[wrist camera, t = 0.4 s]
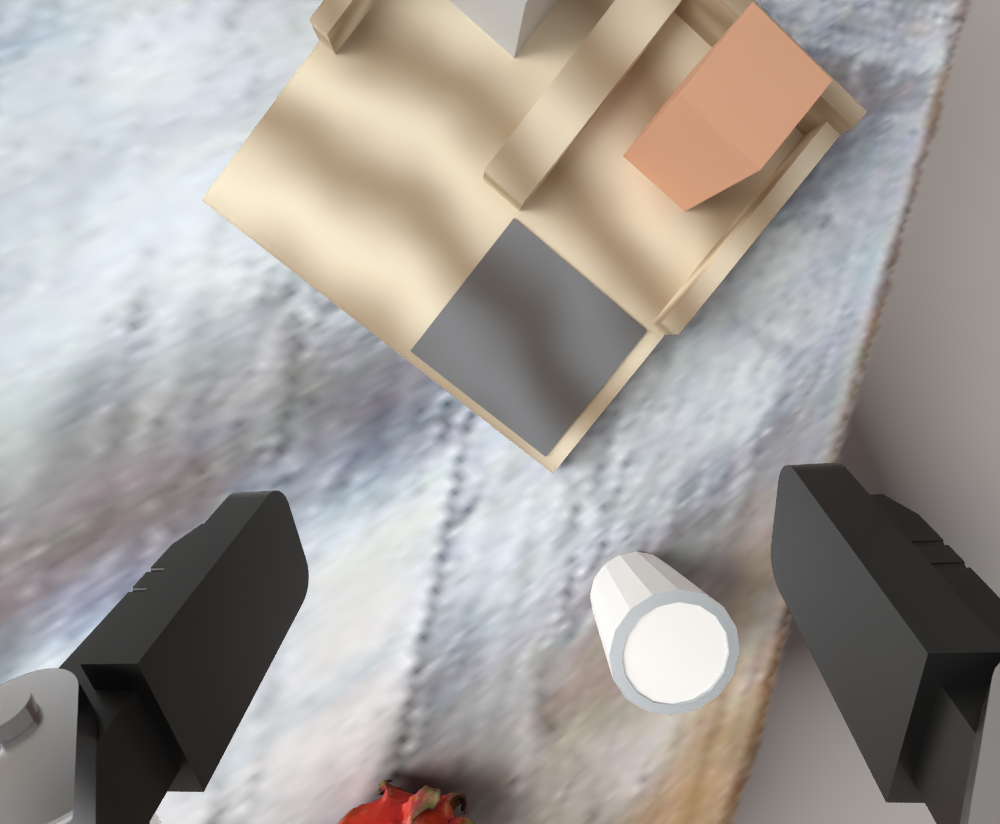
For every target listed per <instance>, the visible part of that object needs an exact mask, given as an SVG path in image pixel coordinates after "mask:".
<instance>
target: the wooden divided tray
mask: <svg viewBox="0 0 1000 824" xmlns="http://www.w3.org/2000/svg"><path fill="white" fill-rule="evenodd" d="M752 2H753V3H754V4H756V5H757V6H758V7H759V8H760V9H761V10H762V11H763V12H764V13H765V14H766V15H767V16H768V17H769V18H770V19H771V20H772V21H773V22H774V23H775V24H776V25H777V26H778V27H779V28H780V29H781V30H782V31H783V32H784V33H785V34H786V35H787V36H788V37H789V38H790V39H791V40H792V41H793V42H794V43H795V44H796V45H797V46H798V47H799V48H800V49H801V50H802V51H803V52H804V53H805V54H806V55H807V56H808V57H809V58H810V59H811V60H812V61H813V62H814V63H815V64H816V65H818V66H819V67H820V68H821V69H822V70H823V71H824V72H825V73H826V74H827V75H828V76H829V77H830V78H831V79H832V82H831V83H830V84H829V85H828V87H827V88H826V89H825V90H824V92H823V93H822V94H821V95H820V97H819V98H818V99H817V100H816V102H815V103H814V104H813V105H812V107H811V108H810V109H809V110H808V112H807V113H806V114H805V115H804V116H803V118H802V119H801V120H800V121H799V123H798V124H797V125H796V126H795V128H794V129H793V130H792V131H791V133H790V134H789V135H788V136H787V138H786V139H785V140H784V141H783V143H782V144H781V145H780V146H779V148H778V149H777V150H776V151H775V153H774V154H773V155H772V156H771V158H770V159H769V160H768V161H767V163H766V164H765V165H764V166H763V167H762V169H761V170H759V171H757V172H756V173H754V174H752V175H750V176H748V177H746V178H745V179H743V180H741V181H739V182H737V183H736V184H734V185H732V186H730V187H728V188H726V189H725V190H723V191H721V192H719V193H717V194H716V195H714V196H712V197H710V198H708V199H706V200H705V201H703V202H701V203H699V204H697V205H696V206H694V207H692V208H690V209H688V210H686V211H684V210H683V209H682V208H680V207H679V206H678V205H677V204H676V203H675V202H674V201H673V200H672V199H670V198H669V197H668V196H667V195H666V194H665V193H664V192H663V191H661V190H660V189H659V188H658V187H657V186H656V185H655V184H654V183H653V182H651V181H650V180H649V179H648V178H647V177H646V176H645V175H644V174H642V173H641V172H640V171H639V170H638V169H637V168H636V167H635V166H634V165H632V164H631V163H630V162H629V161H628V160H627V159H626V158H625V157H623V155H624V154H625V153H626V151H627V150H628V149H629V148H630V146H631V145H632V144H633V143H634V141H635V140H636V139H637V137H638V136H639V135H640V134H641V132H642V131H643V130H644V129H645V127H646V126H647V125H648V123H649V122H650V121H651V120H652V118H653V117H654V116H655V115H656V113H657V112H658V111H659V109H660V108H661V107H662V106H663V104H664V103H665V102H666V101H667V99H668V98H669V97H670V95H671V94H672V93H673V92H674V90H675V89H676V88H677V87H678V86H679V84H680V83H681V82H682V81H683V80H684V79H685V78H686V77H687V75H688V74H689V73H690V72H691V71H692V70H693V69H694V67H695V66H696V65H697V64H698V63H699V62H700V61H701V60H702V58H703V57H704V56H705V55H706V54H707V53H708V52H709V50H710V49H711V48H712V47H713V46H714V45H715V44H716V43H717V41H718V40H719V39H720V38H721V37H722V36H723V35H724V34H725V32H726V31H727V30H728V29H729V28H730V27H731V26H732V24H733V23H734V22H735V21H736V20H737V19H738V18H739V17H740V15H741V14H742V13H743V12H744V11H745V10H746V9H747V7H748V6H749V5H750V4H751V3H752ZM310 22H311V24H312V26H313V28H314V30H315V33H316V35H317V37H318V39H319V42H318V44H317V45H316V46H315V48H314V49H313V50H312V52H311V53H310V54H309V56H308V57H307V58H306V60H305V61H304V62H303V64H302V65H301V67H300V68H299V69H298V71H297V72H296V73H295V75H294V76H293V77H292V79H291V80H290V81H289V83H288V84H287V85H286V87H285V88H284V89H283V91H282V92H281V93H280V95H279V96H278V98H277V99H276V100H275V102H274V103H273V104H272V106H271V107H270V108H269V110H268V111H267V112H266V114H265V115H264V116H263V118H262V119H261V120H260V122H259V123H258V124H257V126H256V127H255V129H254V130H253V131H252V133H251V134H250V135H249V137H248V138H247V139H246V141H245V142H244V143H243V145H242V146H241V147H240V149H239V150H238V151H237V153H236V154H235V155H234V157H233V158H232V159H231V161H230V162H229V164H228V165H227V166H226V168H225V169H224V170H223V172H222V173H221V174H220V176H219V177H218V178H217V180H216V181H215V182H214V184H213V185H212V186H211V188H210V189H209V190H208V192H207V193H206V195H205V196H204V197H203V199H202V201H203V202H204V203H206V204H207V205H208V206H210V207H211V208H212V209H213V210H215V211H216V212H217V213H219V214H220V215H221V216H222V217H224V218H225V219H226V220H228V221H229V222H230V223H231V224H233V225H234V226H235V227H237V228H238V229H239V230H240V231H242V232H243V233H244V234H246V235H247V236H248V237H249V238H251V239H252V240H253V241H255V242H256V243H257V244H258V245H260V246H261V247H262V248H264V249H265V250H266V251H267V252H269V253H270V254H271V255H273V256H274V257H275V258H276V259H278V260H279V261H280V262H282V263H283V264H284V265H285V266H287V267H288V268H289V269H291V270H292V271H293V272H294V273H296V274H297V275H298V276H300V277H301V278H302V279H303V280H305V281H306V282H307V283H309V284H310V285H311V286H312V287H314V288H315V289H316V290H318V291H319V292H320V293H321V294H323V295H324V296H325V297H327V298H328V299H329V300H330V301H332V302H333V303H334V304H336V305H337V306H338V307H339V308H341V309H342V310H343V311H345V312H346V313H347V314H348V315H350V316H351V317H352V318H354V319H355V320H356V321H357V322H359V323H360V324H361V325H363V326H364V327H365V328H366V329H368V330H369V331H370V332H372V333H373V334H374V335H375V336H377V337H378V338H379V339H381V340H382V341H383V342H384V343H386V344H387V345H388V346H390V347H391V348H392V349H393V350H395V351H396V352H397V353H399V354H400V355H401V356H402V357H404V358H405V359H406V360H408V361H409V362H410V363H411V364H413V365H414V366H415V367H417V368H418V369H419V370H420V371H422V372H423V373H424V374H426V375H427V376H428V377H429V378H431V379H432V380H433V381H435V382H436V383H437V384H438V385H440V386H441V387H442V388H444V389H445V390H446V391H447V392H449V393H450V394H451V395H453V396H454V397H455V398H456V399H458V400H459V401H460V402H462V403H463V404H464V405H465V406H467V407H468V408H469V409H471V410H472V411H473V412H474V413H476V414H477V415H478V416H480V417H481V418H482V419H483V420H485V421H486V422H487V423H489V424H490V425H491V426H492V427H494V428H495V429H496V430H498V431H499V432H500V433H501V434H503V435H504V436H505V437H507V438H508V439H509V440H510V441H512V442H513V443H514V444H516V445H517V446H518V447H519V448H521V449H522V450H523V451H525V452H526V453H527V454H528V455H530V456H531V457H532V458H534V459H535V460H536V461H537V462H539V463H540V464H541V465H543V466H544V467H545V468H546V469H548V470H549V471H550V472H552V473H554V472H555V470H556V469H557V468H558V467H559V465H560V464H561V463H562V462H563V460H564V459H565V458H566V457H567V456H568V454H569V453H570V452H571V451H572V449H573V448H574V447H575V446H576V444H577V443H578V442H579V441H580V439H581V438H582V437H583V436H584V434H585V433H586V432H587V431H588V430H589V428H590V427H591V426H592V425H593V423H594V422H595V421H596V420H597V418H598V417H599V416H600V415H601V413H602V412H603V411H604V410H605V408H606V407H607V406H608V405H609V404H610V402H611V401H612V400H613V399H614V397H615V396H616V395H617V394H618V392H619V391H620V390H621V389H622V387H623V386H624V385H625V384H626V383H627V381H628V380H629V379H630V378H631V376H632V375H633V374H634V373H635V371H636V370H637V369H638V368H639V366H640V365H641V364H642V363H643V361H644V360H645V359H646V358H647V357H648V355H649V354H650V353H651V352H652V350H653V349H654V348H655V347H656V345H657V344H658V343H659V342H660V340H661V339H662V338H663V337H664V335H679V334H680V332H681V331H682V330H683V329H684V327H685V326H686V325H687V324H688V322H689V321H690V320H691V319H692V317H693V316H694V315H695V314H696V313H697V311H698V310H699V309H700V308H701V306H702V305H703V304H704V303H705V301H706V300H707V299H708V298H709V296H710V295H711V294H712V293H713V292H714V290H715V289H716V288H717V287H718V285H719V284H720V283H721V282H722V280H723V279H724V278H725V277H726V275H727V274H728V273H729V272H730V271H731V269H732V268H733V267H734V266H735V264H736V263H737V262H738V261H739V259H740V258H741V257H742V256H743V254H744V253H745V252H746V251H747V250H748V248H749V247H750V246H751V245H752V243H753V242H754V241H755V240H756V238H757V237H758V236H759V235H760V234H761V232H762V231H763V230H764V229H765V227H766V226H767V225H768V224H769V222H770V221H771V220H772V219H773V217H774V216H775V215H776V214H777V213H778V211H779V210H780V209H781V208H782V206H783V205H784V204H785V203H786V201H787V200H788V199H789V198H790V196H791V195H792V194H793V193H794V192H795V190H796V189H797V188H798V187H799V185H800V184H801V183H802V182H803V180H804V179H805V178H806V177H807V175H808V174H809V173H810V172H811V171H812V169H813V168H814V167H815V166H816V164H817V163H818V162H819V161H820V159H821V158H822V157H823V156H824V154H825V153H826V152H827V151H828V150H829V148H830V147H831V146H832V145H833V143H834V142H835V141H836V140H837V138H838V137H839V136H840V135H841V134H843V133H845V132H847V131H849V130H851V129H852V128H854V127H855V126H856V124H857V123H858V122H859V121H860V119H861V118H862V117H863V116H864V114H865V113H866V112H867V111H866V110H865V109H864V108H863V107H862V106H861V105H860V104H859V103H858V102H857V101H856V100H855V99H853V98H852V97H851V96H850V95H849V94H848V93H847V92H846V91H845V90H844V89H843V88H842V87H841V86H840V85H839V84H838V83H837V82H836V81H835V80H834V79H833V78H832V77H831V76H830V75H829V74H828V73H827V72H826V71H825V70H824V69H823V68H822V67H821V66H820V65H819V64H818V63H817V62H816V61H815V60H814V59H813V58H812V57H811V56H810V55H809V54H808V53H807V52H806V51H805V50H804V49H803V48H802V47H801V46H800V45H799V44H798V43H797V42H796V41H795V40H794V39H793V38H792V37H791V36H790V35H788V34H787V33H786V32H785V31H784V30H783V29H782V28H781V27H780V26H779V25H778V24H777V23H776V22H775V21H774V20H773V19H772V18H771V17H770V16H769V15H768V14H767V13H766V12H765V11H764V10H763V9H762V8H761V7H760V6H759V5H758V4H757V3H756V2H755V1H754V0H558V2H557V3H556V4H555V6H554V7H553V8H552V9H551V11H550V12H549V13H548V15H547V16H546V17H545V19H544V20H543V21H542V22H541V24H540V25H539V26H538V28H537V29H536V30H535V32H534V33H533V34H532V36H531V37H530V38H529V39H528V41H527V42H526V43H525V45H524V46H523V47H522V49H521V50H520V51H519V53H518V54H517V55H516V56H515V58H513V57H512V56H511V55H510V54H509V53H508V52H506V51H505V50H504V49H503V48H502V47H501V46H500V45H499V44H497V43H496V42H495V41H494V40H493V39H492V38H491V37H490V36H489V35H487V34H486V33H485V32H484V31H483V30H482V29H481V28H480V27H478V26H477V25H476V24H475V23H474V22H473V21H472V20H471V19H470V18H468V17H467V16H466V15H465V14H464V13H463V12H462V11H461V10H459V9H458V8H457V7H456V6H455V5H454V4H453V3H452V2H451V1H449V0H324V1H323V2H322V3H321V5H320V6H319V7H318V9H317V10H316V11H315V13H314V14H313V16H312V17H311V18H310Z"/></svg>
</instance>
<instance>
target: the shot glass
mask: <svg viewBox="0 0 1000 824" xmlns="http://www.w3.org/2000/svg"><path fill="white" fill-rule="evenodd" d="M590 597H591V603H592V609H593V613H594V617H595V620H596V623H597V627H598V630H599V633H600V637H601V640H602V644H603V647H604V650H605V654H606V657H607V660H608V664H609V667H610V670H611V674H612V677H613V680H614V681H615V683H616V684H617V686H618V687H619V689H620V690H621V692H622V693H623V694H624V696H625V697H626V699H627V700H629V701H631V702H632V703H634V704H636V705H637V706H639V707H640V708H642V709H644V710H645V711H647V712H653V713H659V714H666V715H676V714H680V713H684V712H689V711H693V710H697V709H699V708H700V707H702V706H703V705H705V704H706V703H708V702H709V701H711V700H712V699H714V698H715V697H717V696H718V695H719V694H720V693H721V691H722V690H723V689H724V687H725V686H726V684H727V683H728V682H729V680H730V679H731V678H732V676H733V675H734V671H735V667H736V664H737V660H738V656H739V653H740V649H739V641H738V634H737V627H736V626H735V624H734V622H733V621H732V619H731V618H730V616H729V615H728V613H727V611H726V610H725V608H724V607H723V606H722V605H720V604H719V603H718V602H717V601H715V600H714V599H713V598H711V597H710V596H709V595H707V594H706V593H705V592H703V591H702V590H701V589H699V588H698V587H697V586H696V585H694V584H693V583H692V582H690V581H689V580H688V579H686V578H685V577H684V576H682V575H681V574H680V573H679V572H677V571H676V570H675V569H673V568H672V567H671V566H669V565H668V564H667V563H665V562H664V561H662V560H661V559H659V558H658V557H656V556H655V555H653V554H648V553H642V552H637V551H636V552H631V553H626V554H621V555H618V556H617V557H615V558H614V559H612V560H611V561H609V562H608V563H606V564H604V566H603V567H602V568H601V570H600V571H599V573H598V574H597V576H596V577H595V578H594V581H593V586H592V590H591V594H590Z"/></svg>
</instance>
